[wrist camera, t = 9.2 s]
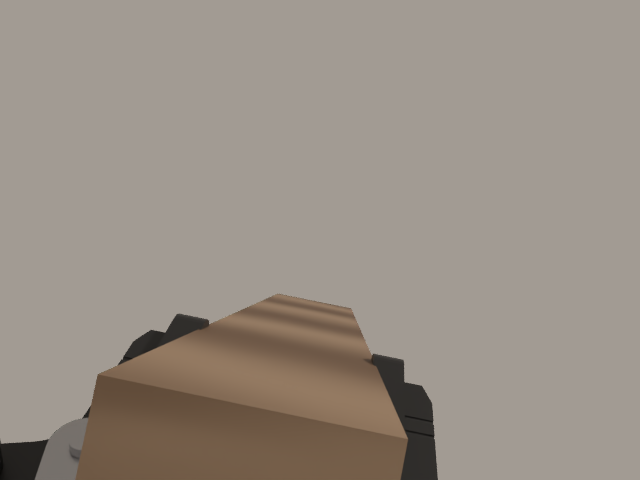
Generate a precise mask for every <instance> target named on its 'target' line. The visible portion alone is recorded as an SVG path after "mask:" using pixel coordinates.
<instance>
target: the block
mask: <svg viewBox="0 0 640 480" xmlns="http://www.w3.org/2000/svg"><path fill="white" fill-rule="evenodd" d="M371 358H372V355H371V353H370V351H369V349H368V346H367V344H366V342H365V340H364V337H363V335H362V333H361V330H360V328H359V326H358V323H357V321H356V319H355V317H354V315H353V312H352V310H351V308H346V307H340V306H336V305H331V304H326V303H321V302H316V301H311V300H306V299H301V298H297V297H292V296H287V295H281V294H276V295H274V296H272V297H270V298H267V299H265V300H263V301H261V302H258V303H256V304H254V305H252V306H249V307H247V308H245V309H243V310H241V311H238V312H236V313H234V314H232V315H229V316H227V317H225V318H223V319H220V320H218V321H216V322H214V323H211V324H209V326H208V327H206V328H204V329H202V330H199V329H198V330H196V331H194V332H191V333H189V334H187V335H185V336H182V337H180V338H178V339H176V340H173V341H171V342H169V343H167V344H165V345H162V346H160V347H158V348H156V349H153V350H151V351H149V352H147V353H144V354H142V355H140V356H138V357H136V358H133V359H131V360H129V361H127V362H124V363H122V364H120V365H118V366H115V367H113V368H111V369H109V370H107V371H104V372H102V373H100V374H98V376H97V380H96V385H95V390H94V394H93V399H92V404H91V408H90V413H89V418H88V422H87V427H86V432H85V436H84V441H83V446H82V450H81V455H80V460H79V464H78V469H77V474H76V478H75V480H400V479H401V474H402V469H403V463H404V458H405V453H406V448H407V442H408V438H407V435H406V433H405V431H404V429H403V426H402V424H401V422H400V419H399V417H398V415H397V413H396V410H395V408H394V406H393V403H392V401H391V399H390V397H389V394H388V392H387V390H386V387H385V385H384V383H383V381H382V378H381V376H380V374H379V371H378V369H377V367H376V366H374V365H373V363H372V361H371Z"/></svg>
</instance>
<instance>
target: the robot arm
mask: <svg viewBox="0 0 640 480" xmlns="http://www.w3.org/2000/svg"><path fill="white" fill-rule="evenodd" d="M208 326H209V321H208V320H207V319H202V318H198V317H193V316H188V315H183V314H177V315H176V316H175V318H174V319H173V321H172V323H171V324H170V326H169V328H168V329H167V331H166V333H163V332H159V331H154V330H150V331H149V332H147V333H146V334H144V335H142V336H141V337H140V338H138V339H136V340H135V341H134V342H133V343H132V345H131V346H130V348H129V349H128V351H127V352H126V354H125V355H124V357H123V360H121V361H120V363H119V364H118V365H120V364H122V363H124V362H127V361H129V360H131V359H133V358H136V357H138V356H140V355H142V354H144V353H147V352H149V351H151V350H153V349H156V348H158V347H160V346H162V345H165V344H167V343H169V342H171V341H173V340H176V339H178V338H180V337H182V336H185V335H187V334H189V333H191V332H194V331H196V330H198V329H199V330H202V329H204V328H206V327H208ZM371 361H372V363H373V365H374V366H376V367H377V369H378V371H379V374H380V376H381V378H382V381H383V383H384V385H385V387H386V390H387V392H388V394H389V397H390V399H391V401H392V403H393V406H394V408H395V410H396V413H397V415H398V417H399V419H400V422H401V424H402V426H403V429H404V431H405V433H406V435H407V438H408V442H407V448H406V453H405V458H404V463H403V469H402V474H401V479H400V480H438V478H437V464H436V451H435V440H434V425H433V410H432V403H431V401H430V399H429V397H428V396H427V394H426V392H425V390H424V389H423V387H422V386H420V385H415V384H409V383H405V382H404V361H403V360H401V359H397V358H392V357H387V356H382V355H377V354H373V355H372V358H371ZM90 408H91V406H90ZM90 408H89V409H88V411H87V413H86V414H85V415H84V417H83V418H82V419H78V420H74V421H72V422H69V423H67V424H65V425H63V426H62V427H61V428H59V429H58V430H56V431H55V432H54V434H53V435H52V436H51V437H50V439H48V440H43V441H37V442H22V443H7V444H6V443H5V444H1V442H0V480H75V478H76V474H77V469H78V464H79V460H80V455H81V450H82V446H83V441H84V436H85V432H86V427H87V422H88V418H89V413H90Z"/></svg>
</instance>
